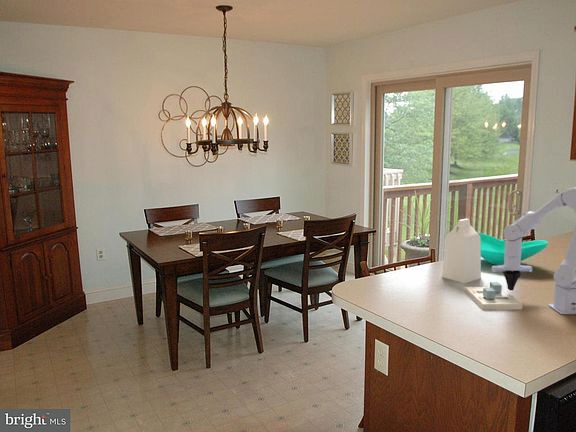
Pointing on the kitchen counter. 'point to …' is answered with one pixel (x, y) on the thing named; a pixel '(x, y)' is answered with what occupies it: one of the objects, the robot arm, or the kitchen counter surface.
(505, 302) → the switch panel
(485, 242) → the table top decor
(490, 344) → the kitchen counter surface
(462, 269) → the milk
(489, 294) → the tab
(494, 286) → the tab
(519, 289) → the kitchen counter surface
